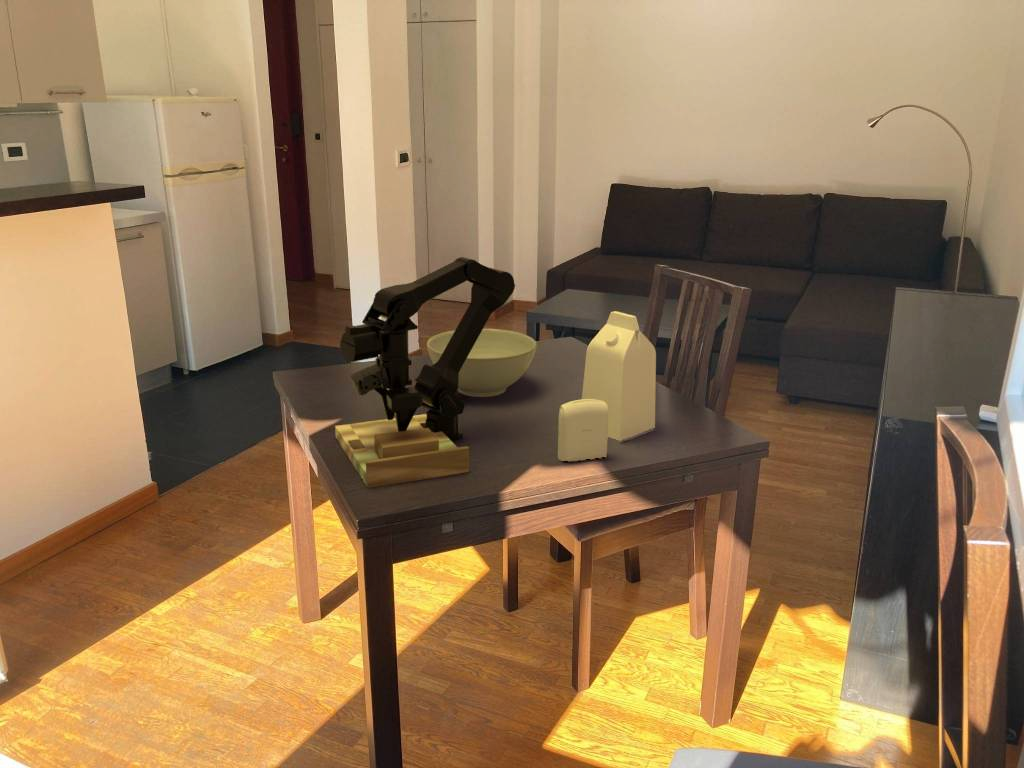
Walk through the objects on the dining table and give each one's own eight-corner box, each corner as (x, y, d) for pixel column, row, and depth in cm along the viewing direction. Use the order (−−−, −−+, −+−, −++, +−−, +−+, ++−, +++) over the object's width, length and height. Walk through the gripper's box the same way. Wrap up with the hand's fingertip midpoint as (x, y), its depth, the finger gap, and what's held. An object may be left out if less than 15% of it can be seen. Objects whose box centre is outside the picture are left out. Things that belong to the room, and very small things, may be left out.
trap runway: (335, 436, 182) (334, 414, 181) (425, 424, 190) (425, 403, 188) (367, 488, 159) (367, 463, 157) (469, 471, 167) (469, 447, 165)
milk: (654, 430, 189) (663, 315, 181) (619, 443, 182) (626, 324, 173) (614, 415, 197) (620, 305, 189) (578, 427, 190) (583, 312, 182)
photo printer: (560, 464, 171) (563, 405, 167) (554, 455, 175) (556, 398, 171) (609, 459, 173) (612, 401, 169) (602, 451, 177) (605, 394, 173)
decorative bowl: (535, 373, 226) (536, 329, 222) (535, 408, 201) (537, 359, 197) (433, 371, 227) (432, 327, 223) (421, 406, 201) (420, 356, 197)
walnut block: (374, 451, 169) (374, 434, 168) (428, 444, 173) (428, 427, 172) (383, 464, 163) (382, 447, 162) (438, 457, 167) (438, 440, 166)
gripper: (343, 344, 175) (346, 416, 180) (364, 371, 158) (367, 449, 163) (396, 339, 179) (397, 410, 184) (423, 365, 163) (424, 441, 168)
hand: (395, 427), depth 175 cm, fingers open, 8 cm apart
